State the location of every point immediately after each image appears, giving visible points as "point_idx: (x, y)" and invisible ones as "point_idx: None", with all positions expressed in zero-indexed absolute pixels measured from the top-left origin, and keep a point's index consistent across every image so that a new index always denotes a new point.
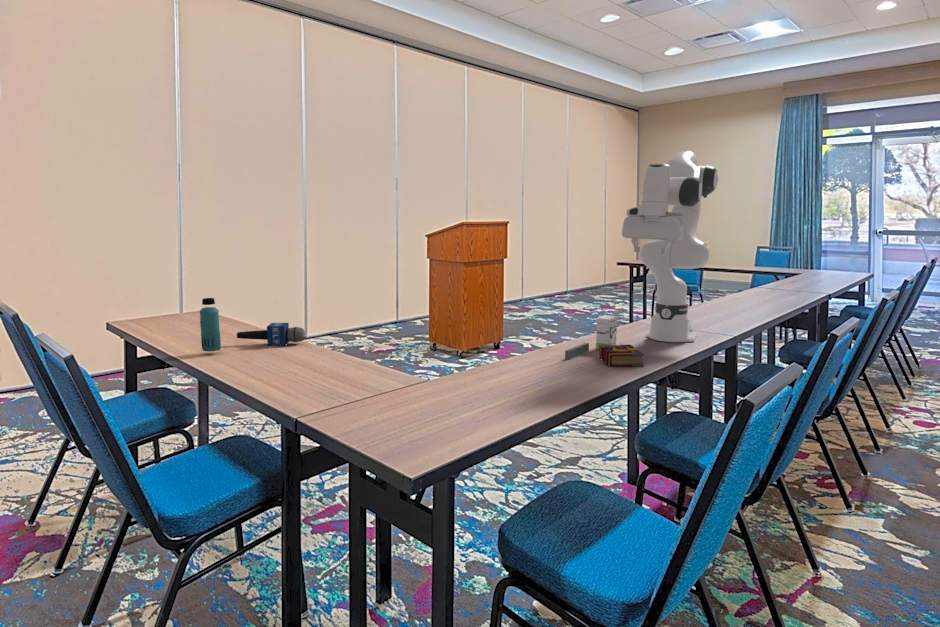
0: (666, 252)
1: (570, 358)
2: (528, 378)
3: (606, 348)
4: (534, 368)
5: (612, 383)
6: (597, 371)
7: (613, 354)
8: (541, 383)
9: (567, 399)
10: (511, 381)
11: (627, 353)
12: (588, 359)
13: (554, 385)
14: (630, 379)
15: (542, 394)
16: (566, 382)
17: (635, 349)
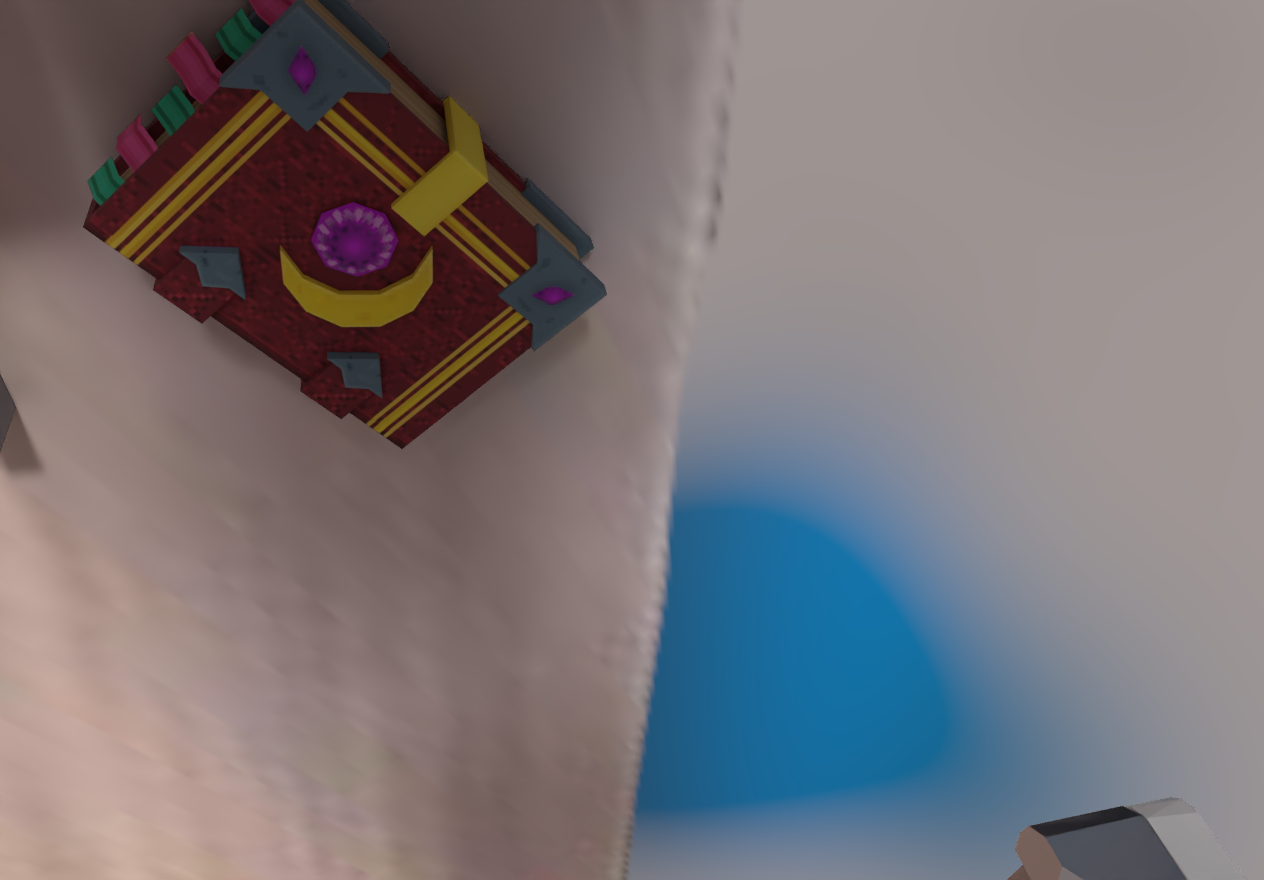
0: (1194, 828)
1: (3, 387)
2: (220, 792)
3: (229, 296)
4: (67, 678)
5: (604, 629)
6: (403, 517)
7: (410, 425)
8: (332, 800)
9: (564, 848)
10: (204, 851)
11: (478, 336)
12: (115, 306)
13: (401, 786)
14: (650, 529)
15: (448, 866)
16: (412, 735)
17: (469, 195)
